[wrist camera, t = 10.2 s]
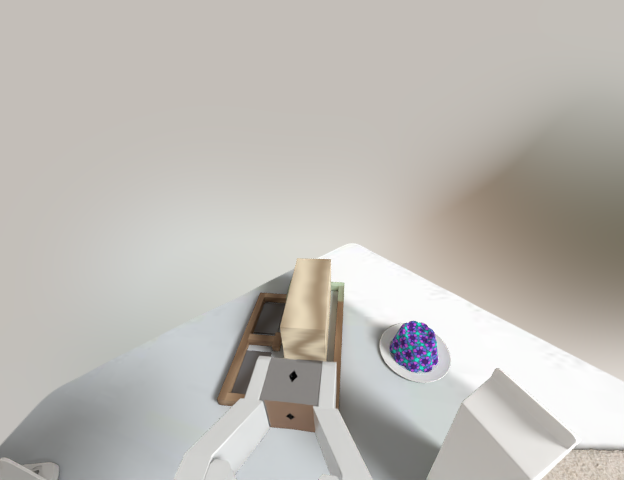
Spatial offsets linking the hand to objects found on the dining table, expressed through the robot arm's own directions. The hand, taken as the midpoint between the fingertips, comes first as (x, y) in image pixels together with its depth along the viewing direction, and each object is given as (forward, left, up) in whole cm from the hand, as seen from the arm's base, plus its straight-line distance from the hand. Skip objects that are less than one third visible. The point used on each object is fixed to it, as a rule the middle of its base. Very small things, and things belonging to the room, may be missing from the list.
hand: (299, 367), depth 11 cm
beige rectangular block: (-5, +31, -34) cm, 46 cm away
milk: (+16, +7, -34) cm, 38 cm away
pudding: (+14, +27, -35) cm, 46 cm away
